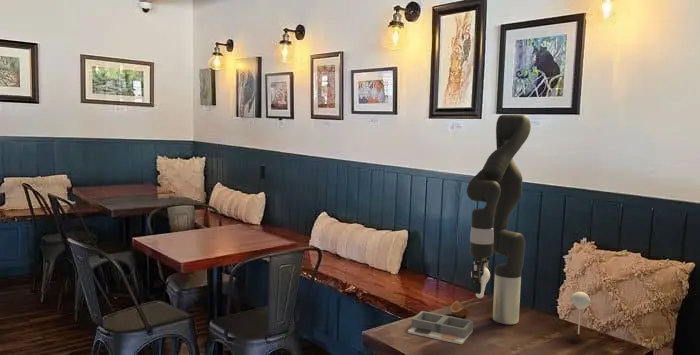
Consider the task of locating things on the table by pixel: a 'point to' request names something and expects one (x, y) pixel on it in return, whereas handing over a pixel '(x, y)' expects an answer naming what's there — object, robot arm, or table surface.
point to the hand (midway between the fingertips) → (479, 290)
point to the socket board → (441, 327)
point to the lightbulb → (483, 282)
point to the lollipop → (580, 303)
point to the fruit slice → (458, 309)
